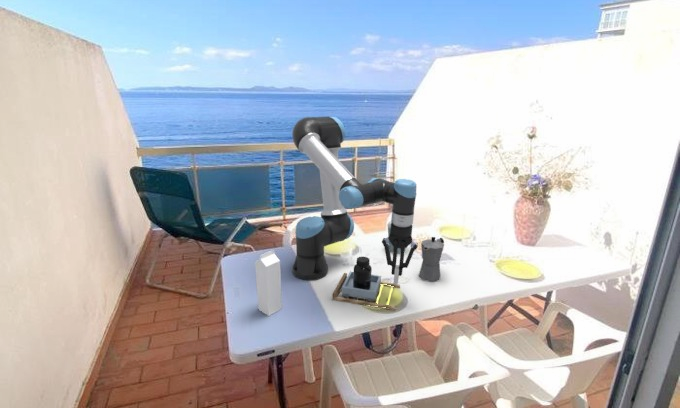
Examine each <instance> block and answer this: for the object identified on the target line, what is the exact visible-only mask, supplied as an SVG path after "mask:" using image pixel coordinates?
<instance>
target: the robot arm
mask: <svg viewBox="0 0 680 408" xmlns="http://www.w3.org/2000/svg"><path fill="white" fill-rule="evenodd" d="M291 133H292V134H291V136H292V140H293V143H294V146H295V147H296V148H297V150H298V151H299V152H300V153H301V154H303V155H306V156H307V157H308V158H309V159H310V161H312V163H313V164H314V165H315V166H316V167H317V168H318V170H319V176H320V179H319V180H320V188H321V196H322V197H321V198H322V205H323V210H322V211H320V216H307V217H304V218H301V219H300V220H299V221H297V223H296V226H295V242H296V243H295V247H296V252H295V253H296V256H295V258H294V261H293V265H292V274H293V276H294V275H295V278H297V279H300V280H305V281H315V280H319V279H322V278H324V277H325V276H327V275H328V273H329V265H328V262H327V259H326V256H325V247H327V246H329V245H332V244H336V243H339V242H343V241H345V240H347V239H349V238H351V236H353V233H354V230H355V222H354V218H352V216H351V214H349V213H348V210H352V209H358V208H361V207H365V206H368V205H371V204H372V205H373V204H376V203H380V202H383V203H386V204H389V205H392V207H391V208H392V209H391V210H392V211H391V220H390V221H391V222H392V223H391V229H390V235H389V236H387V237H383V238H382V240H381V244H382V245H383V247H384V252H385V260H386V264H387V266H391V275H393V284H399V278H400V277H402V276H403V269H404V268H405V269H408V267H409V264H410V262H411V259H412V257H413V255H414V252H415V251H416V250H417V249H418V246H419V243H418V242H415V241H414V240H413V237H412V236H413V235H412V233H413V224H414V215H415V207H416V206H415V204H416V197H417V183H416V181H414V180H412V179H406V178H399V179H396V180H395V181H394V182H392V181H389V180H385V179H383V178H378V177H372V178H370V180H368V181H367V182H365V183H361V182H360V181H359V180H358V179H357V178H356V177H355V176H354V175H353V174H352V173H351V172H350V171H349V169H347V167H346V166H345V165H344V164H343V163H342V162H341V161H340V160H339V151H340V150H341V148H342V146H341V144H342V143H343V142H344V141H345V138H346V128H345V126H344V124H343V122H342V120H340V119H339V118H338V117H336V116H330V115H328V116H312V117H310V116H307V117H303V118H301V119H299V120H298V121H297V122H295V124H294V126H293V129H292V132H291ZM389 241H390V242H391V244H392V245H393V247H394V249H393V252H392V253H393V254H392V257H391V251H390V249H389ZM408 246H410V250H409V251H408V254H407V257H406V260H405V262H404V259H405V250H406V248H407V247H408ZM398 248H400V249H401V253H399V254H400V255H399V264H397V257H398V253H397V250H398Z"/></svg>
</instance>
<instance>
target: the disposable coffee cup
mask: <svg viewBox="0 0 680 408" xmlns="http://www.w3.org/2000/svg"><path fill="white" fill-rule="evenodd" d="M391 223H392V222H391V220H390V221H388V223H387V225H386V226H387V234H388V236H389V235H390V229H391ZM388 236H387V237H388ZM389 249H390V253H393V249H394V247H393V245H392V244H391V242H390V241H389ZM400 253H401V249H400V248H398V250H397V254H400Z"/></svg>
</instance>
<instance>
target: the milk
mask: <svg viewBox="0 0 680 408" xmlns="http://www.w3.org/2000/svg"><path fill="white" fill-rule="evenodd" d="M254 267H255V278H256V279H255V281H256V282H255V283H256V296H257V297H256V298H257V310H258V309H259V310H258V311H260V312H261V311H262V313H263V314H265V315H266V314H267V315H266V316H268V317H269V316H271V315H274V313H277V312H279V311H280V310H282V308H283V303H282V302H283V301H282V297H283V296H282V280H281V279H282V278H281V277H282V276H281V260H280V259H279V258H278V256H277V255H276V254H275V250H274V249H272V250H269V251H266V252H265V253H262V254H260V255H259V259H258V260H255V262H254Z"/></svg>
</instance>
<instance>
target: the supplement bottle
mask: <svg viewBox="0 0 680 408" xmlns="http://www.w3.org/2000/svg"><path fill="white" fill-rule="evenodd" d="M353 272H354V273H353V287H354V288H358V289H364V290H369V289H370V287H371V275H372V272H373V271H372V266H371V265H370V258H369V257H366V256H358V257H357V258H356V264H355V265H354V266H353Z"/></svg>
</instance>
